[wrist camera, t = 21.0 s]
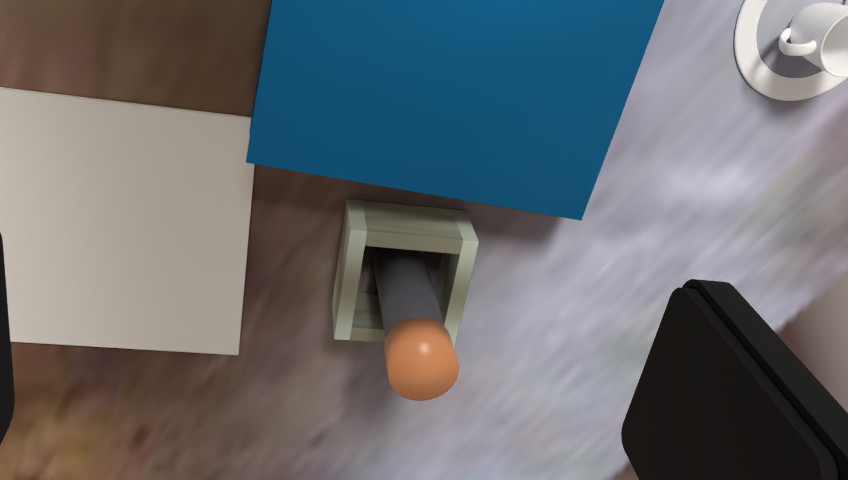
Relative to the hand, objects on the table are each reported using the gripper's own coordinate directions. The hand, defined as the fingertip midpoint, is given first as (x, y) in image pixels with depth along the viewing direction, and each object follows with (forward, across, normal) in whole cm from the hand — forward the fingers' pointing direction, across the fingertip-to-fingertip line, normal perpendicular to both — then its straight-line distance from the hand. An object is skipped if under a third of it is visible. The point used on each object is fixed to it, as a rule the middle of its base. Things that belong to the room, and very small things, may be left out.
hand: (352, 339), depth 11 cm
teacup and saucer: (+29, -27, +1) cm, 40 cm away
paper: (+28, +9, +14) cm, 33 cm away
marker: (+28, -6, +14) cm, 32 cm away
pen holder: (+28, -6, +14) cm, 32 cm away
